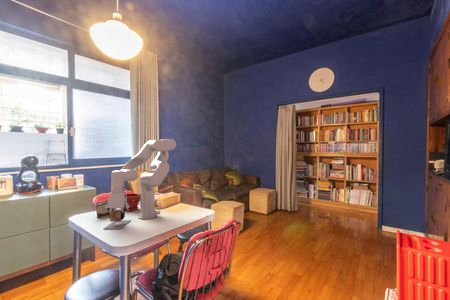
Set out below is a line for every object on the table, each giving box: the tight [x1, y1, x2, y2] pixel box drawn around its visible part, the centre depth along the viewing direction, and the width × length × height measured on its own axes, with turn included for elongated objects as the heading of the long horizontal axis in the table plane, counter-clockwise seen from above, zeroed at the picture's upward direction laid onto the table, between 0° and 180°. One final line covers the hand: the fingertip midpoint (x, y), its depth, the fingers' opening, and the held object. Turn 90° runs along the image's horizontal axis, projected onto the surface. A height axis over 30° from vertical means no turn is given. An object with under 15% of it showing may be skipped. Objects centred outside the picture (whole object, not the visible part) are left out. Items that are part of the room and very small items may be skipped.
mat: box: [103, 219, 132, 230], centre depth 137 cm, size 10×15×1 cm, turn 1°
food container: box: [94, 200, 110, 219], centre depth 156 cm, size 12×6×10 cm, turn 146°
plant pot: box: [125, 193, 140, 212], centre depth 171 cm, size 13×13×12 cm
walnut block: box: [109, 208, 125, 223], centre depth 137 cm, size 6×6×6 cm
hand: (117, 218), depth 137 cm, fingers closed on walnut block, 6 cm apart
